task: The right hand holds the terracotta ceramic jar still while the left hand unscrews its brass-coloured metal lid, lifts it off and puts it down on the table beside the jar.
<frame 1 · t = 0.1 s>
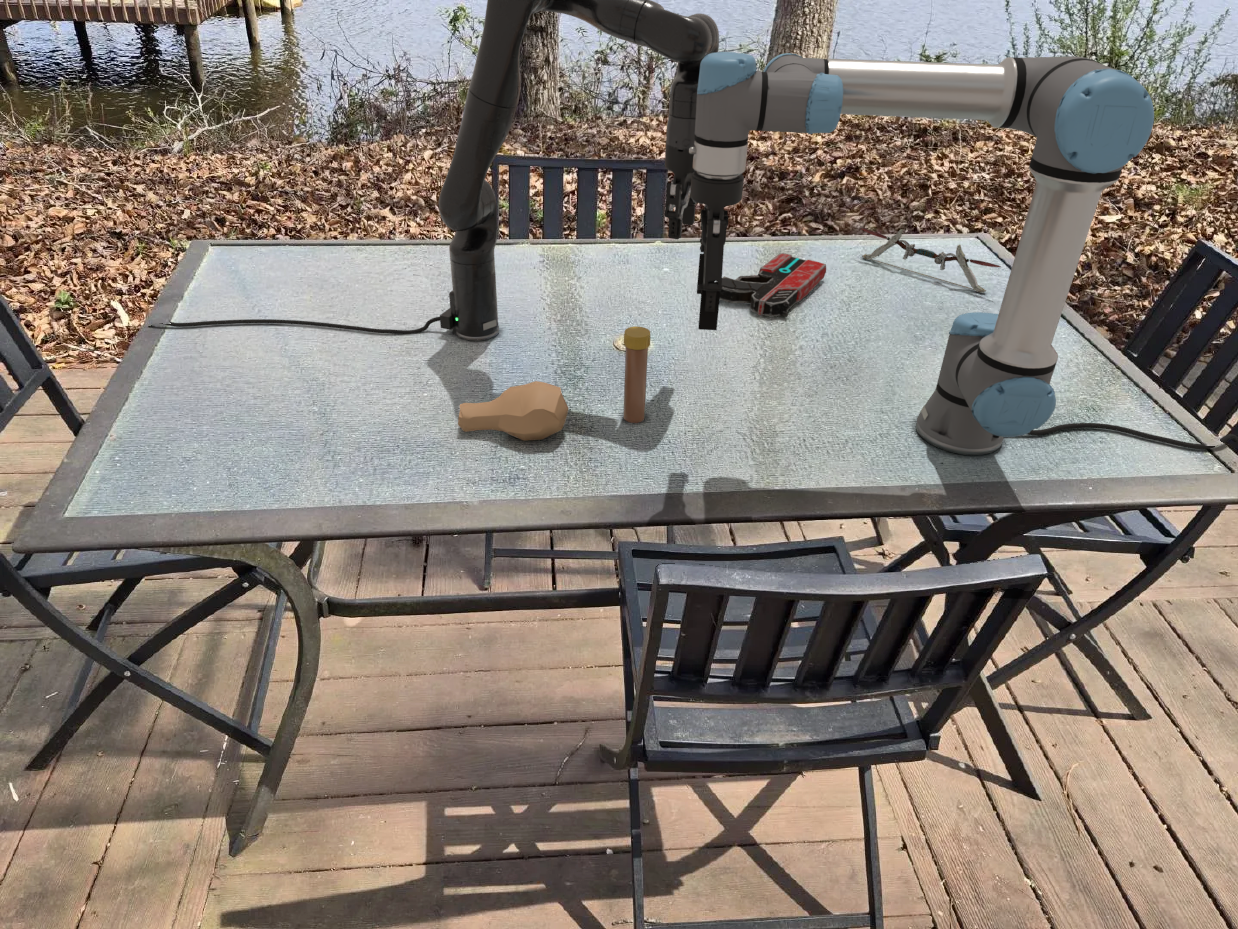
left hand: (681, 231, 164), 29 cm above the table, tool pointing down, fingers open, 8 cm apart
right hand: (706, 310, 137), 28 cm above the table, tool pointing down, fingers open, 13 cm apart
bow: (920, 275, 228), on the table
lid: (637, 333, 154), point 17 cm above the table, screwed on, not yet turned
squash: (514, 431, 159), on the table
jar: (634, 417, 164), on the table
gun: (770, 291, 216), on the table
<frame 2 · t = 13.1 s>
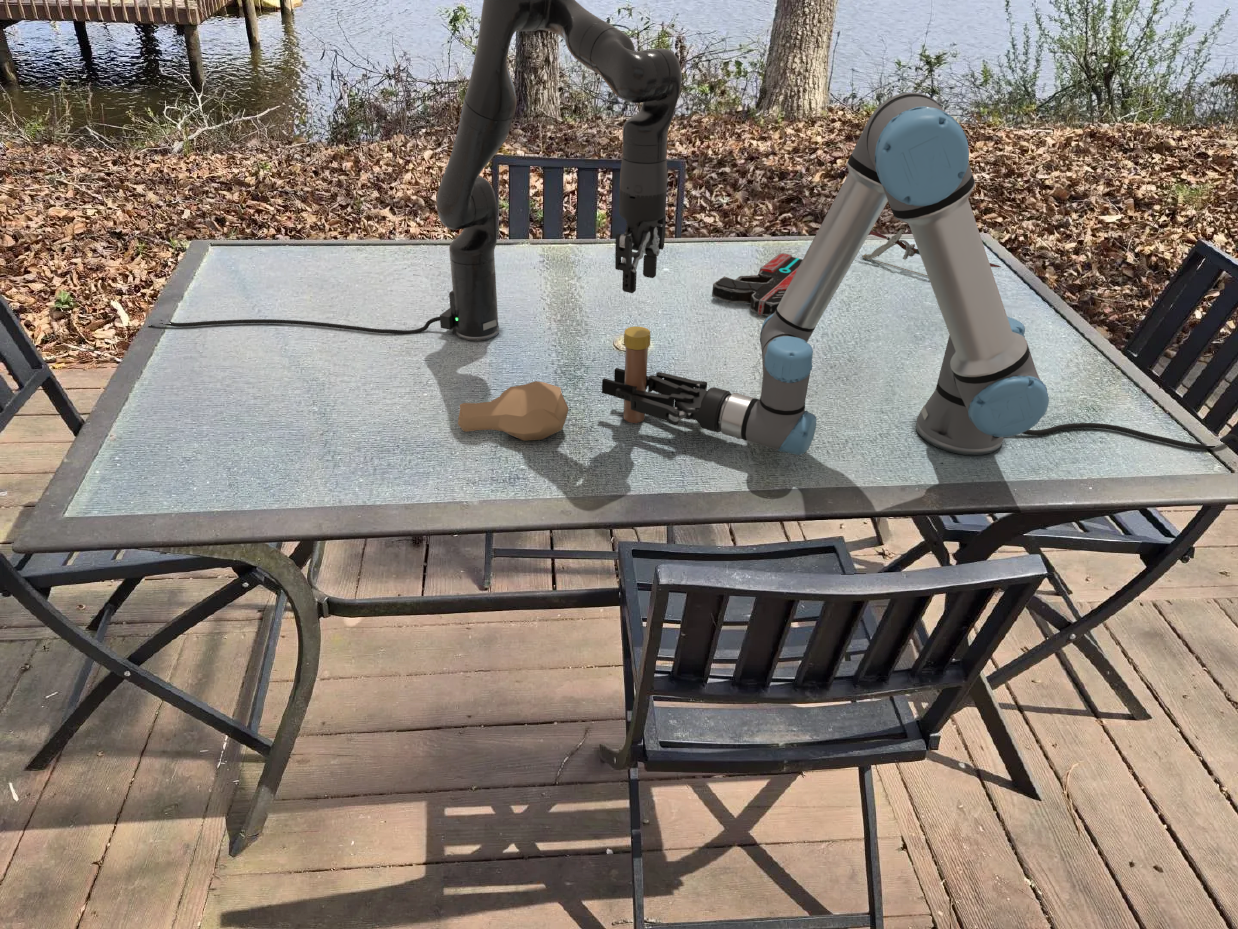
left hand: (639, 283, 149), 26 cm above the table, tool pointing down, fingers open, 7 cm apart
right hand: (609, 380, 162), 6 cm above the table, tool horizontal, fingers closed on jar, 4 cm apart
jar: (634, 417, 164), on the table, touching right hand
everything else where it was.
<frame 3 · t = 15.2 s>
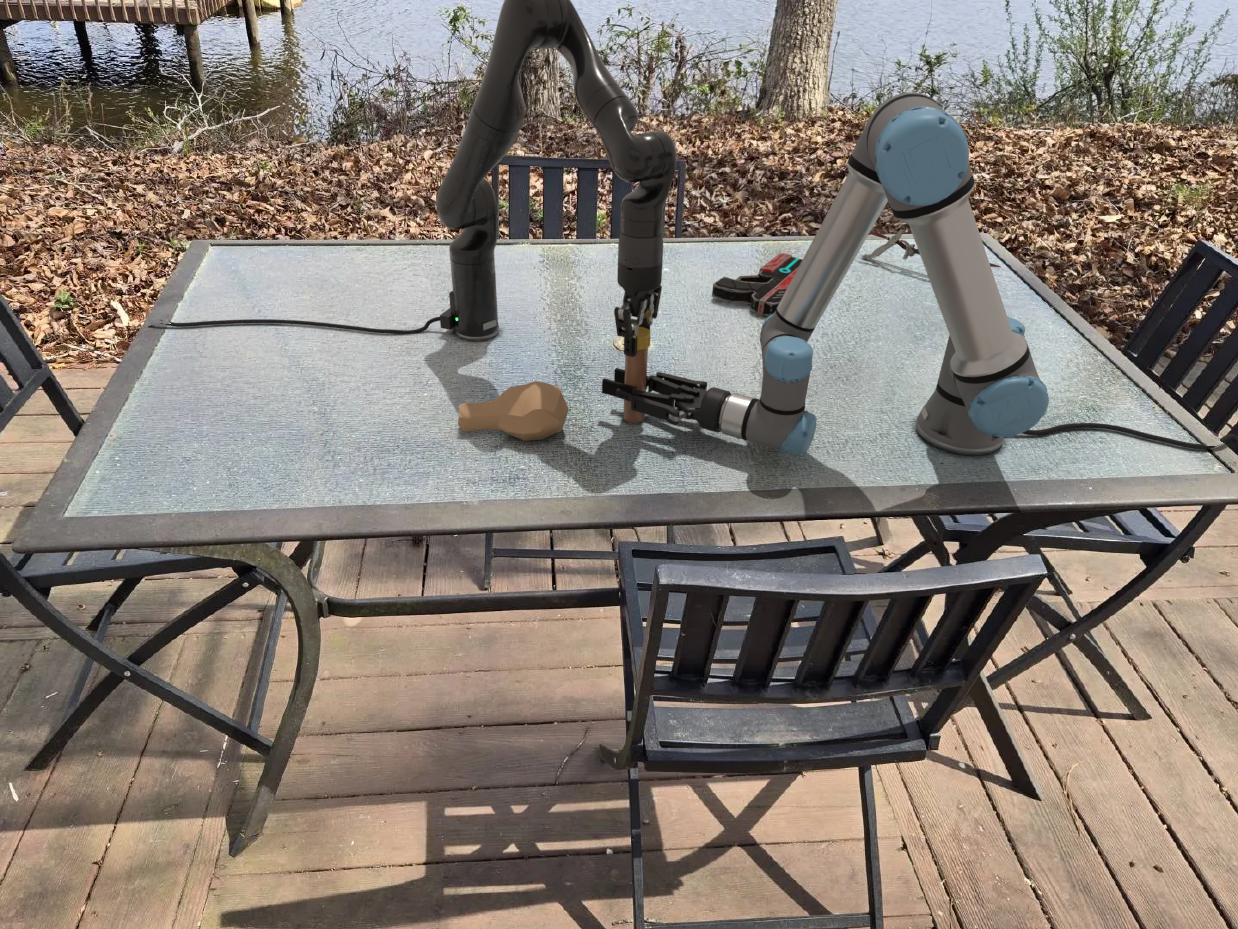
left hand: (636, 349, 156), 14 cm above the table, tool pointing down, fingers closed on lid, 4 cm apart
right hand: (609, 380, 162), 6 cm above the table, tool horizontal, fingers closed on jar, 4 cm apart
lid: (637, 333, 154), point 17 cm above the table, screwed on, not yet turned, touching left hand
jar: (634, 417, 164), on the table, touching right hand
everything else where it was.
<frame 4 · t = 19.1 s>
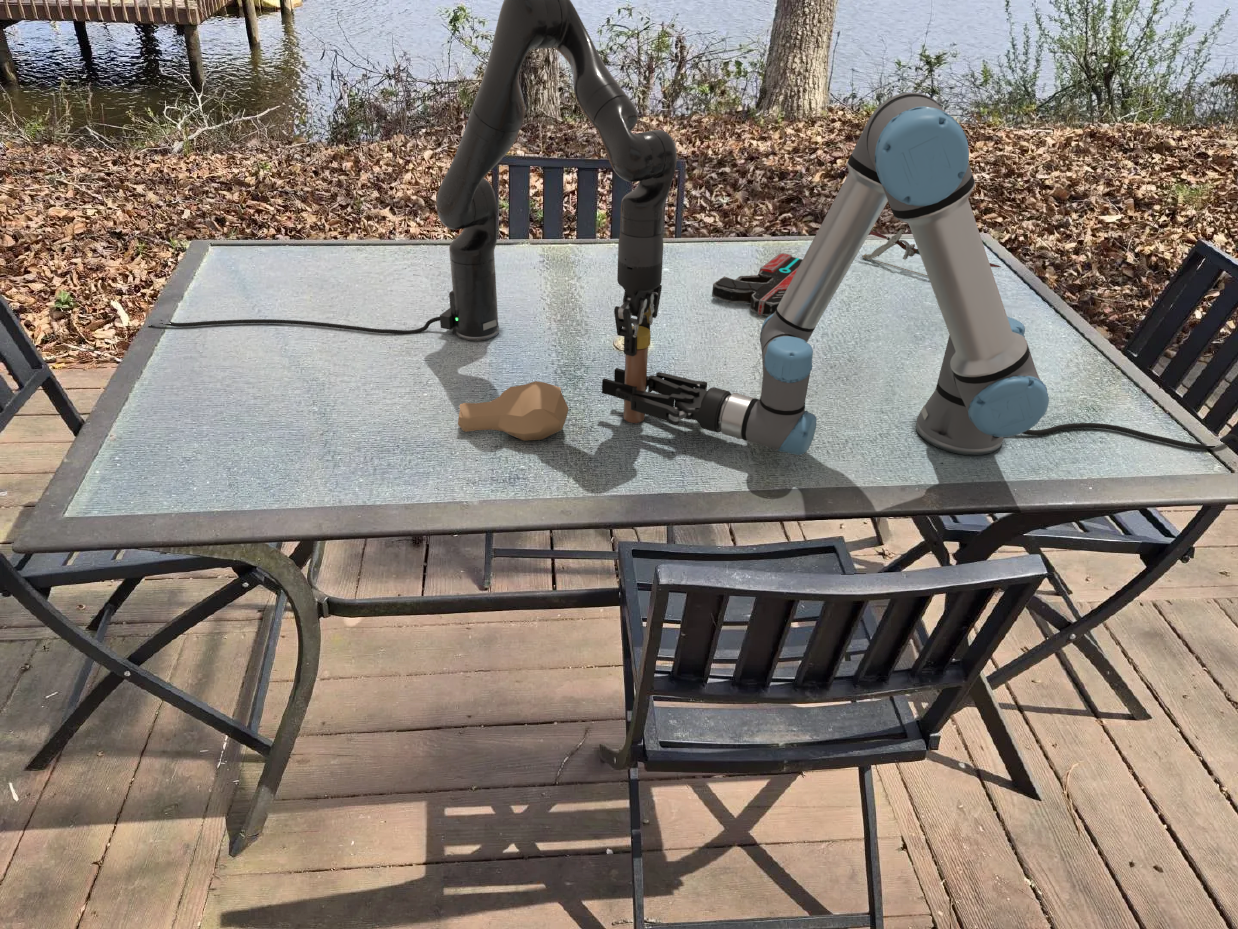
left hand: (636, 348, 156), 14 cm above the table, tool pointing down, fingers closed on lid, 4 cm apart
right hand: (609, 380, 162), 6 cm above the table, tool horizontal, fingers closed on jar, 4 cm apart
lid: (637, 332, 154), point 17 cm above the table, turned 96° so far, risen 0.1 cm, still on its thread, touching left hand
jar: (634, 417, 164), on the table, touching right hand
everything else where it was.
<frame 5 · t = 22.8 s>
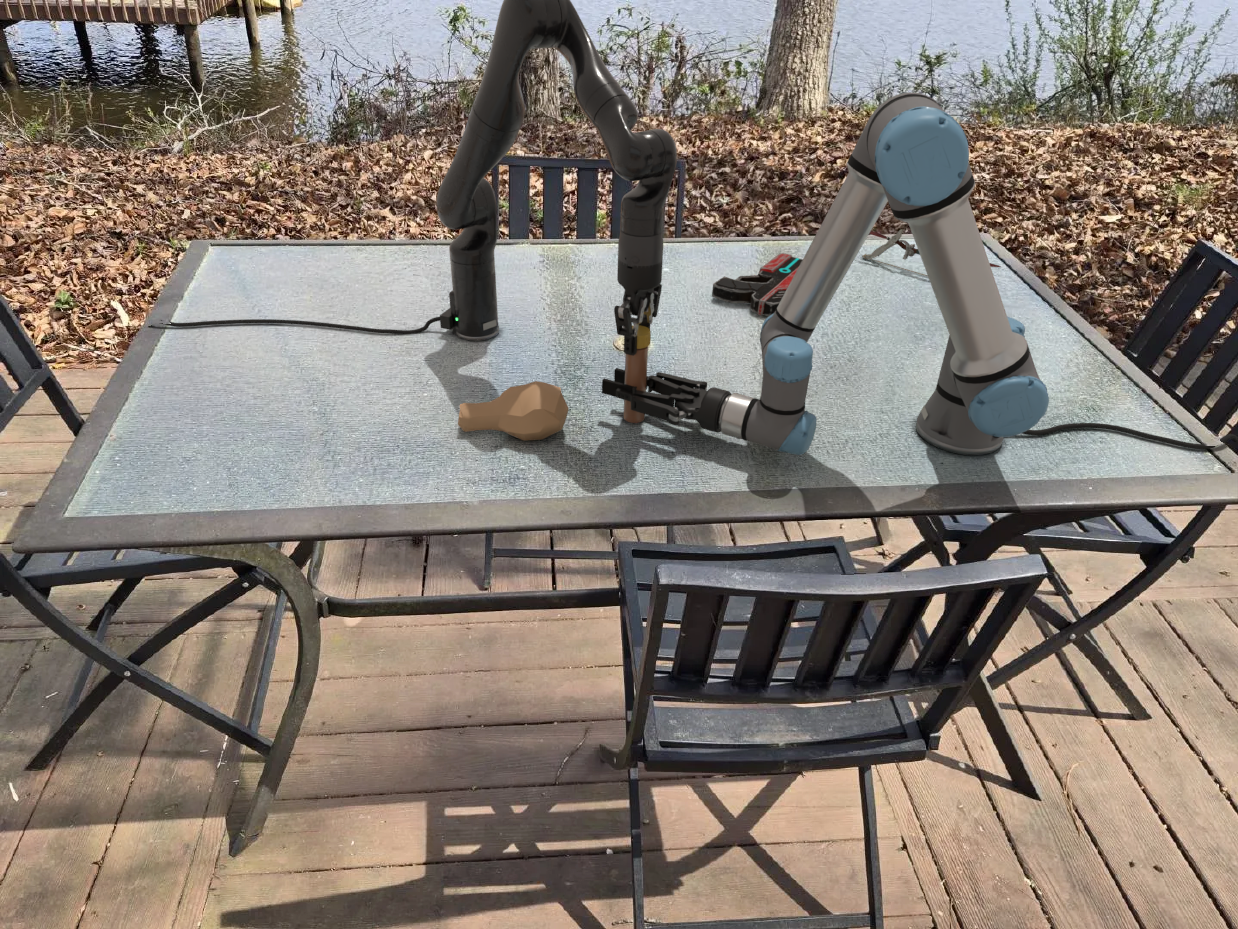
left hand: (636, 348, 156), 14 cm above the table, tool pointing down, fingers closed on lid, 4 cm apart
right hand: (609, 380, 162), 6 cm above the table, tool horizontal, fingers closed on jar, 4 cm apart
lid: (637, 332, 154), point 17 cm above the table, turned 191° so far, risen 0.3 cm, still on its thread, touching left hand
jar: (634, 417, 164), on the table, touching right hand
everything else where it was.
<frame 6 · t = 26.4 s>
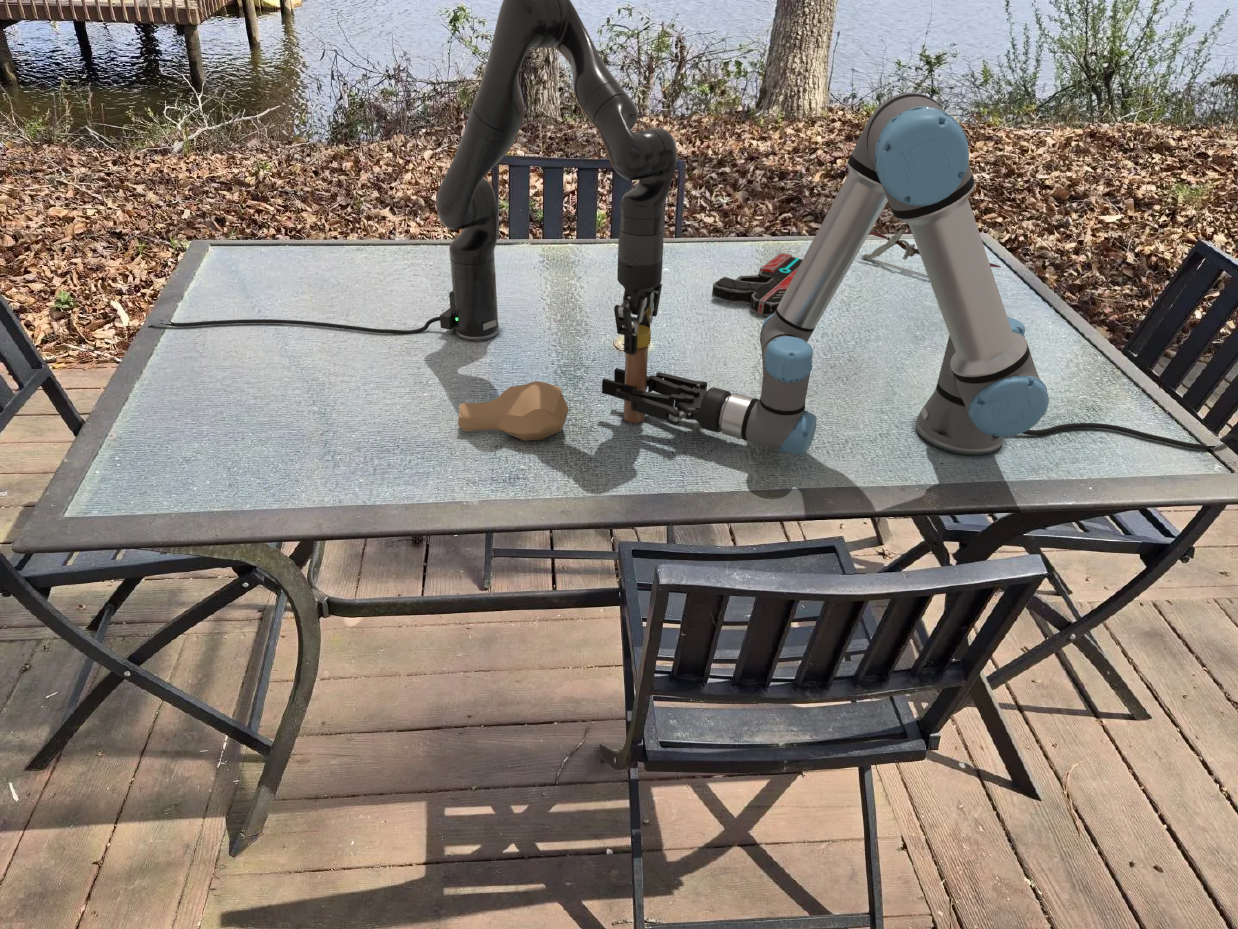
left hand: (636, 347, 156), 15 cm above the table, tool pointing down, fingers closed on lid, 4 cm apart
right hand: (609, 380, 162), 6 cm above the table, tool horizontal, fingers closed on jar, 4 cm apart
lid: (637, 331, 154), point 18 cm above the table, turned 287° so far, risen 0.4 cm, still on its thread, touching left hand
jar: (634, 417, 164), on the table, touching right hand
everything else where it was.
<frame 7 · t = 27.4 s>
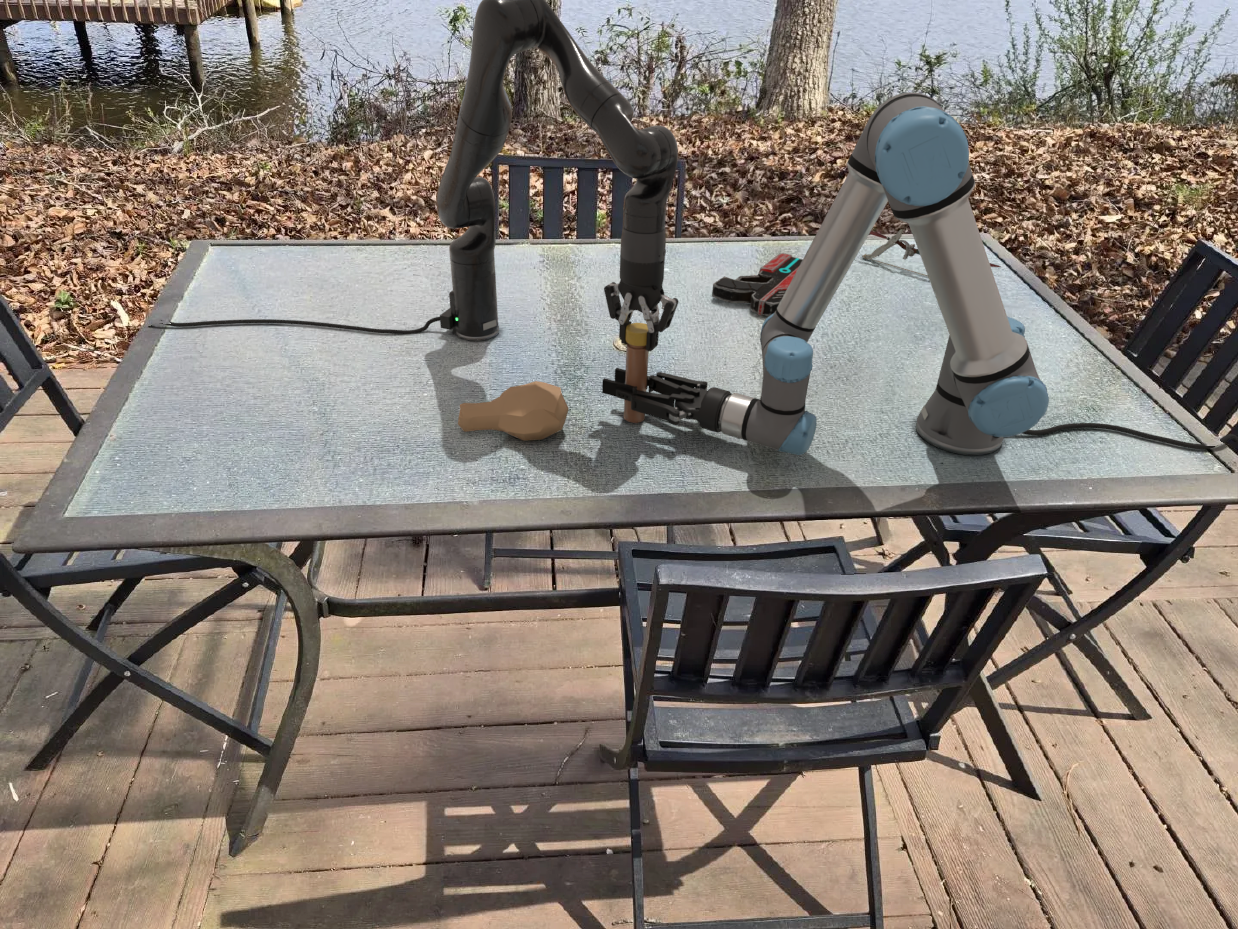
left hand: (638, 345, 156), 15 cm above the table, tool pointing down, fingers closed on lid, 4 cm apart
right hand: (609, 380, 163), 6 cm above the table, tool horizontal, fingers closed on jar, 4 cm apart
lid: (639, 329, 154), point 18 cm above the table, off its thread, touching left hand, jar
jar: (634, 417, 164), on the table, touching right hand, lid
everything else where it was.
when the left hand's fingers open (1 cm above the table, at t = 33.9 s): lid drops 2 cm, point 2 cm above the table.
when the right hand's fingers open (6 cm above the table, at t = 34.8 s): jar stays where it is, on the table.
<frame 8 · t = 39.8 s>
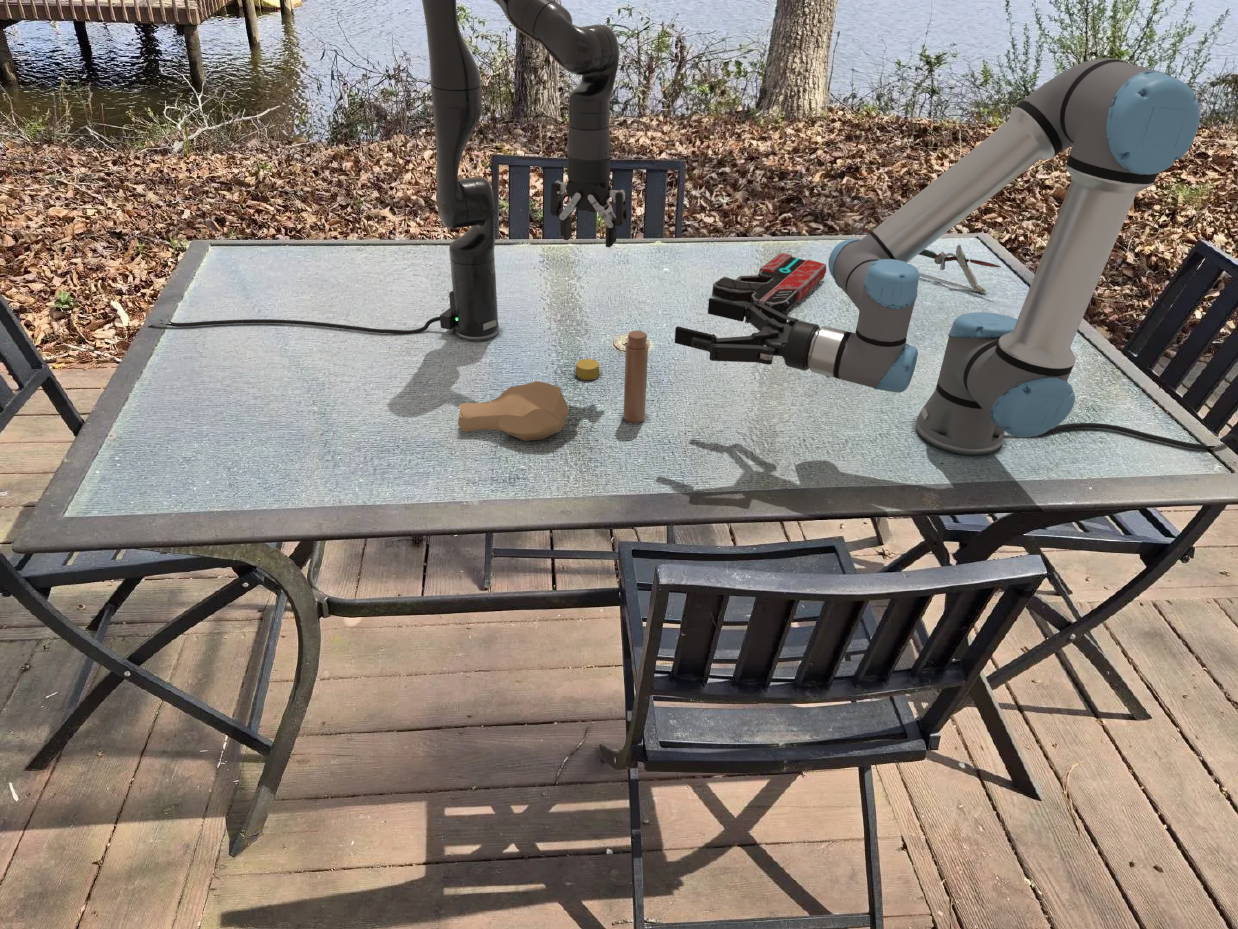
left hand: (588, 242, 162), 28 cm above the table, tool pointing down, fingers open, 8 cm apart
right hand: (692, 319, 148), 22 cm above the table, tool horizontal, fingers open, 13 cm apart
lid: (587, 365, 176), point 2 cm above the table, off its thread
jar: (634, 417, 164), on the table
everything else where it was.
at the end: lid came off its thread; lid point 2.1 cm above the table; the left hand is holding nothing; the right hand is holding nothing; jar tilted 0°; jar moved 0.1 cm from its start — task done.
